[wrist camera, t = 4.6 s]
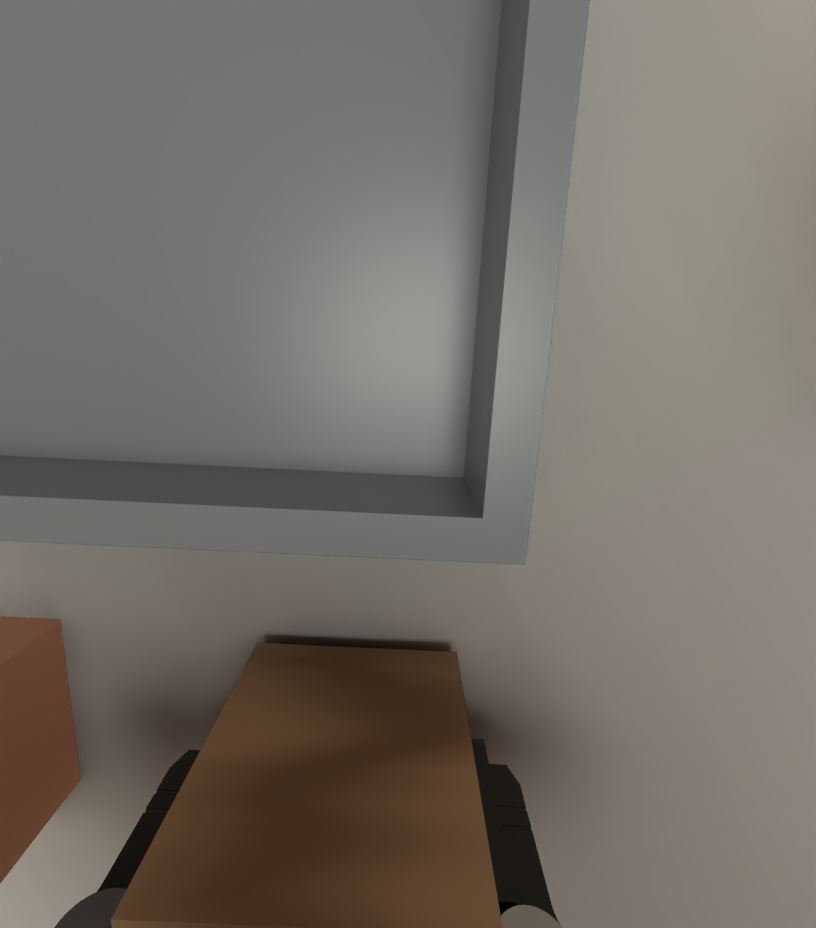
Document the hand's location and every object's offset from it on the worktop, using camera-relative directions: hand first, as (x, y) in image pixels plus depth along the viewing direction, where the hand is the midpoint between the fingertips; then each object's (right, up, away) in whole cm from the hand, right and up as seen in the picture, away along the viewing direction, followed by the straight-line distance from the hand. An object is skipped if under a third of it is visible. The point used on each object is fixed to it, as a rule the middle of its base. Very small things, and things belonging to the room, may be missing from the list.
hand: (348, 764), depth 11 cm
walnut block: (0, 0, +1) cm, 1 cm away
